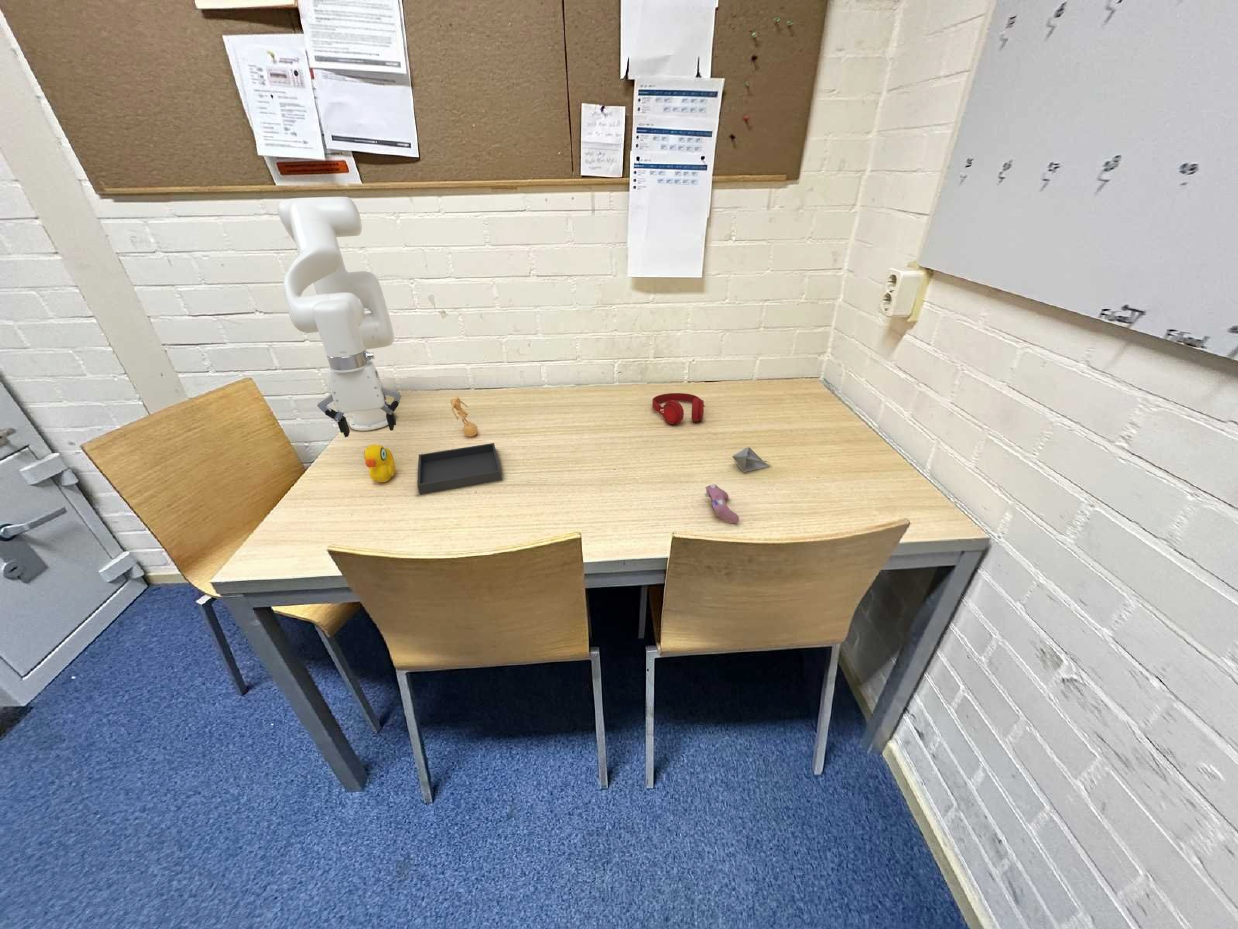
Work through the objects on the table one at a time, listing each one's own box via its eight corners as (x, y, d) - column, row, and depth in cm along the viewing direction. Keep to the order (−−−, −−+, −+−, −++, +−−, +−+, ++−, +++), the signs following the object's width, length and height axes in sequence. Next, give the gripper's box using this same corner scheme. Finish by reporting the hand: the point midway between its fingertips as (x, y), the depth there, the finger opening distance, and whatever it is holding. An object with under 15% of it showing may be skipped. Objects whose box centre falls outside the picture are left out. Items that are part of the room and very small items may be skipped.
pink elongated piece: (710, 504, 114) (699, 482, 111) (728, 496, 113) (718, 474, 110) (721, 531, 106) (709, 509, 102) (741, 522, 105) (730, 499, 101)
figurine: (473, 442, 138) (466, 403, 132) (452, 442, 138) (444, 403, 132) (482, 429, 145) (475, 391, 139) (462, 429, 145) (454, 391, 139)
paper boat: (749, 450, 130) (782, 453, 124) (745, 474, 130) (777, 478, 123) (725, 441, 121) (760, 443, 115) (721, 467, 121) (755, 471, 115)
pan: (420, 463, 129) (418, 454, 127) (495, 451, 134) (494, 442, 132) (419, 494, 116) (417, 485, 115) (502, 480, 121) (500, 471, 120)
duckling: (388, 492, 117) (377, 455, 112) (365, 493, 117) (352, 456, 112) (402, 467, 127) (392, 432, 122) (381, 468, 127) (370, 433, 122)
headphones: (712, 423, 145) (690, 405, 163) (713, 400, 142) (690, 384, 161) (664, 428, 143) (647, 409, 161) (664, 405, 140) (646, 388, 158)
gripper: (392, 350, 112) (410, 419, 120) (307, 359, 107) (332, 430, 116) (390, 361, 105) (408, 432, 114) (299, 370, 101) (326, 444, 110)
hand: (370, 431), depth 115 cm, fingers open, 9 cm apart
